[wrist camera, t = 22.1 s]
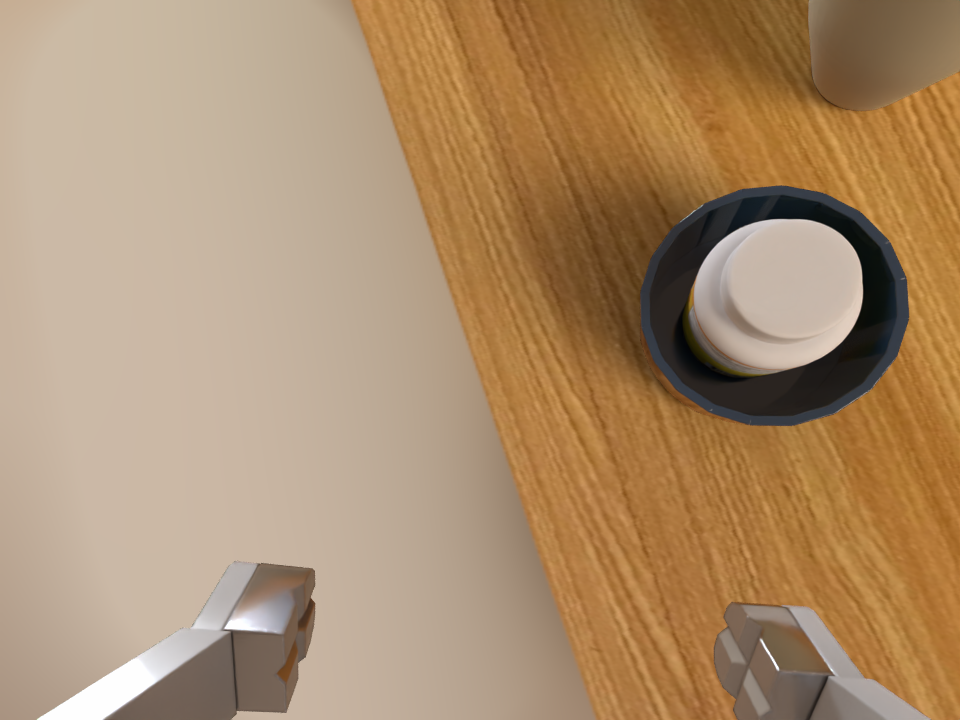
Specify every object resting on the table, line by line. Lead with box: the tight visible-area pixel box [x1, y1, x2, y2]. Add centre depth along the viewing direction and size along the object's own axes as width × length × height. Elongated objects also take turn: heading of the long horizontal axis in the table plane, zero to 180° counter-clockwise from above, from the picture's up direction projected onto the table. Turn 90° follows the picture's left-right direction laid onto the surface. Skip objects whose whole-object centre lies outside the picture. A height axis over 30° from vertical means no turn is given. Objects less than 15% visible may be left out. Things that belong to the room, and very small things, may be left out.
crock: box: [640, 186, 909, 426], centre depth 25 cm, size 10×10×6 cm
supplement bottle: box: [682, 219, 863, 378], centre depth 23 cm, size 6×6×10 cm
